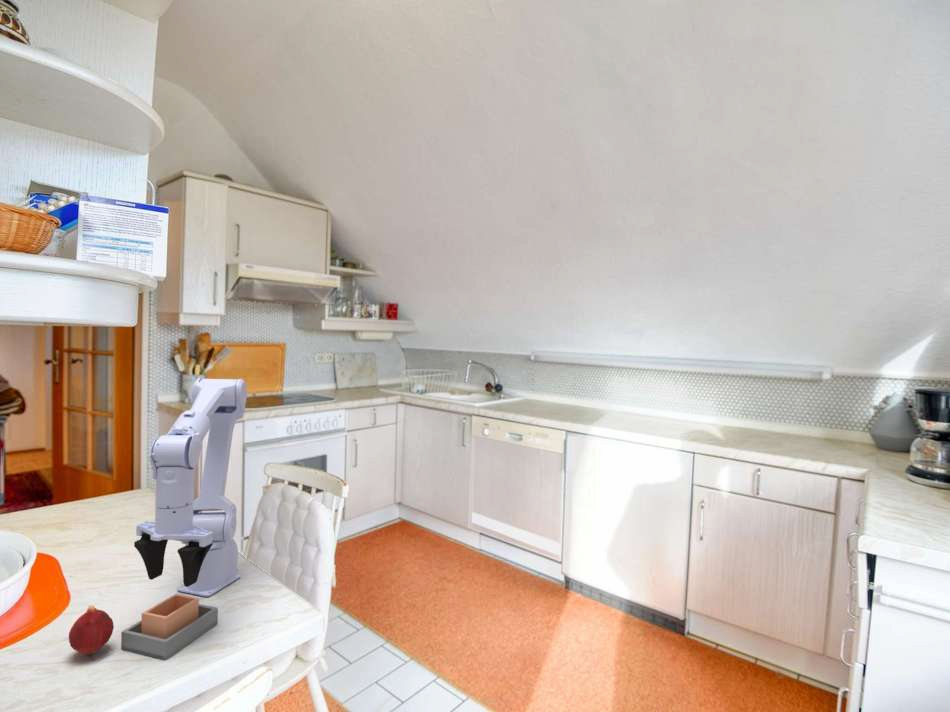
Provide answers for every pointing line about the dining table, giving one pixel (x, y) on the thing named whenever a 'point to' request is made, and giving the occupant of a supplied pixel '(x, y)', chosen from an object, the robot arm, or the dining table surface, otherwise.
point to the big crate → (170, 646)
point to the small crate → (170, 616)
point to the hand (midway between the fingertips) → (172, 580)
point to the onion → (91, 631)
